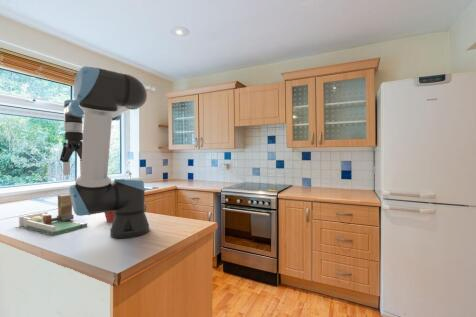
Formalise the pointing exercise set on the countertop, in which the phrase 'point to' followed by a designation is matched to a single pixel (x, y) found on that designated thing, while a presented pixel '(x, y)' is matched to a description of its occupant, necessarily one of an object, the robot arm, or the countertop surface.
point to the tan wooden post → (61, 210)
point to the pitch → (50, 228)
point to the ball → (37, 219)
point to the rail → (78, 223)
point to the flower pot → (110, 216)
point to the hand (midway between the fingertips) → (75, 175)
